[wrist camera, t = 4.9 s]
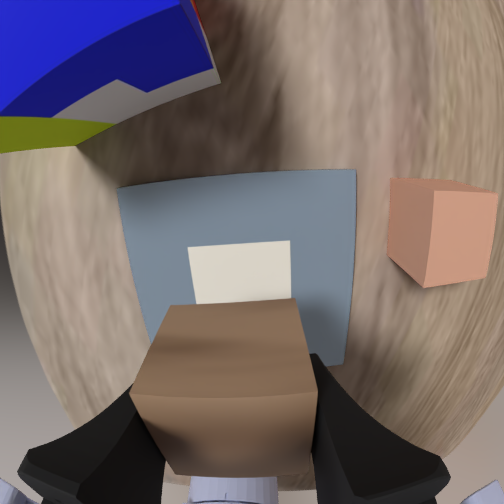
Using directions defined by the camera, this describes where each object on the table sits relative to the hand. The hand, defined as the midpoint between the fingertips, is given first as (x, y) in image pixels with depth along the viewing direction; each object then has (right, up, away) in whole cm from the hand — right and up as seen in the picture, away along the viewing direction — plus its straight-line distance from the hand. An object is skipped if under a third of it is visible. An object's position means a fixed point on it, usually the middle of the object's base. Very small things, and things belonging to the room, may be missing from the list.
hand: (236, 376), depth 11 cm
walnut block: (0, +1, +1) cm, 2 cm away
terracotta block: (+12, +7, +6) cm, 15 cm away
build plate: (0, +3, +8) cm, 8 cm away
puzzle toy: (-7, +18, +3) cm, 19 cm away
